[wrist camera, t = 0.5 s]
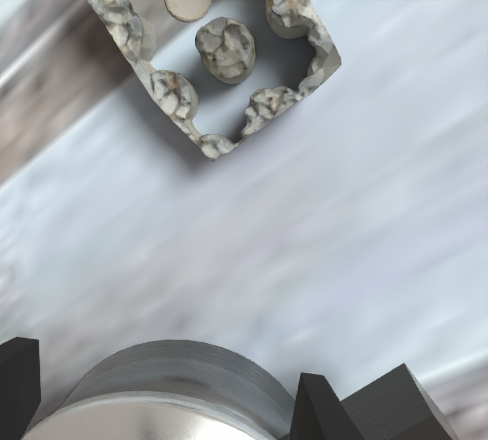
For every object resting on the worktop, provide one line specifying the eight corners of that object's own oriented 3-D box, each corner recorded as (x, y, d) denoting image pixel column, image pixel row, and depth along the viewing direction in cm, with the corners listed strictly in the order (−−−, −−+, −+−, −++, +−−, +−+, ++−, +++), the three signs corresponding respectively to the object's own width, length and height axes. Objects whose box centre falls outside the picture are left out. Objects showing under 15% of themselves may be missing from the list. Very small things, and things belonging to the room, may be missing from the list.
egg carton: (84, -28, 19) (34, -71, 15) (218, -133, 18) (201, -210, 14) (208, 167, 21) (191, 175, 17) (339, 82, 19) (357, 68, 15)
